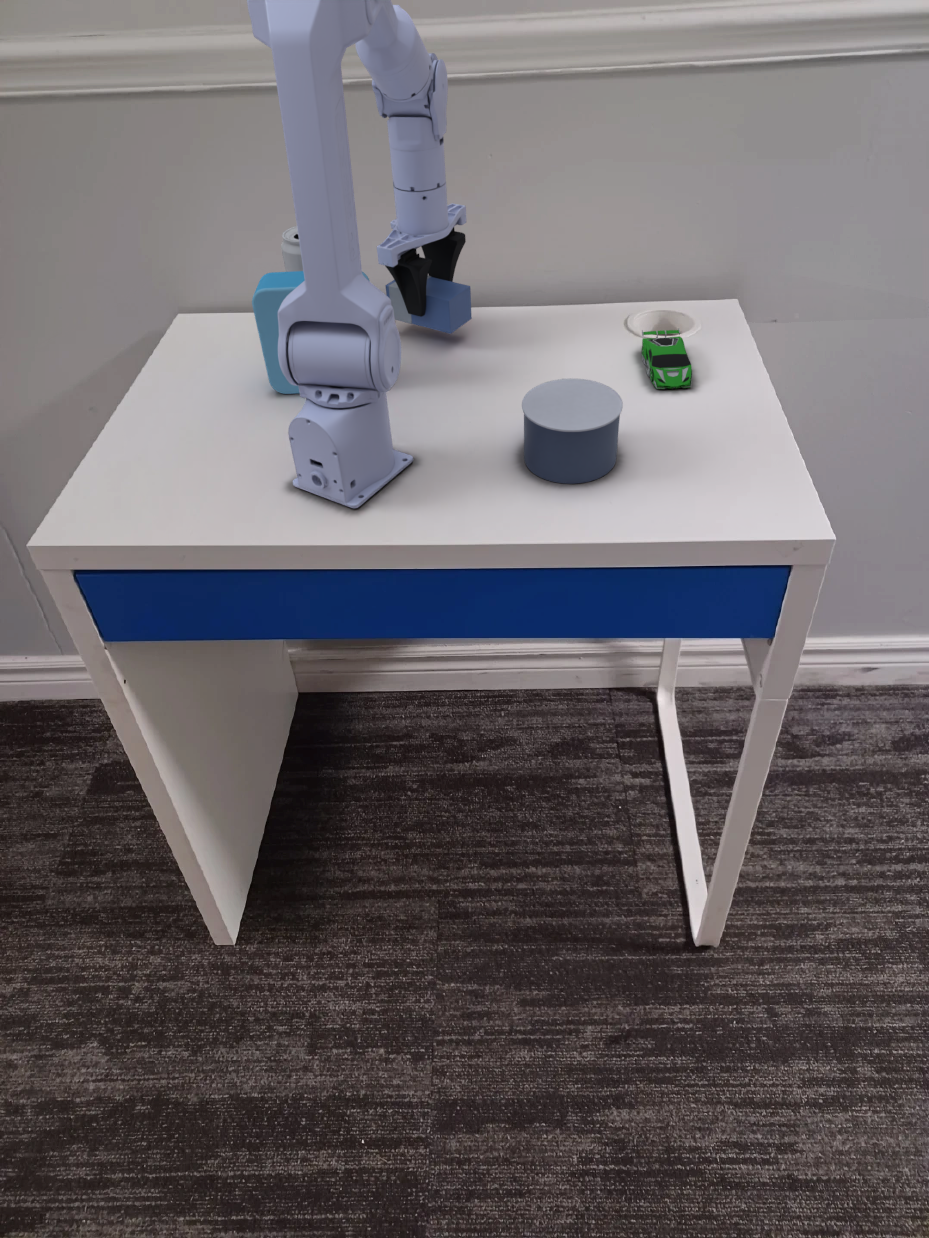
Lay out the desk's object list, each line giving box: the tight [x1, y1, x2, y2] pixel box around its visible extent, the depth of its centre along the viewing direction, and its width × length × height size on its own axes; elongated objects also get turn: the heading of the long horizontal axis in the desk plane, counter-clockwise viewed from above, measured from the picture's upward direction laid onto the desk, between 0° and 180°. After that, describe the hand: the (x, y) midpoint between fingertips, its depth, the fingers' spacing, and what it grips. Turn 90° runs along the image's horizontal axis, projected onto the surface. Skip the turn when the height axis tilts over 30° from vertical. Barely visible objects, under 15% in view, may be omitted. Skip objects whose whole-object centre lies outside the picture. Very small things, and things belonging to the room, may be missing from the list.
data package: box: [251, 271, 371, 395], centre depth 96 cm, size 12×4×12 cm, turn 90°
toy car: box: [641, 327, 693, 390], centre depth 98 cm, size 10×5×2 cm, turn 1°
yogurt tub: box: [521, 377, 624, 485], centre depth 85 cm, size 9×9×6 cm
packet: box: [385, 275, 473, 335], centre depth 104 cm, size 5×9×4 cm, turn 57°
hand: (429, 305), depth 105 cm, fingers closed on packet, 4 cm apart
